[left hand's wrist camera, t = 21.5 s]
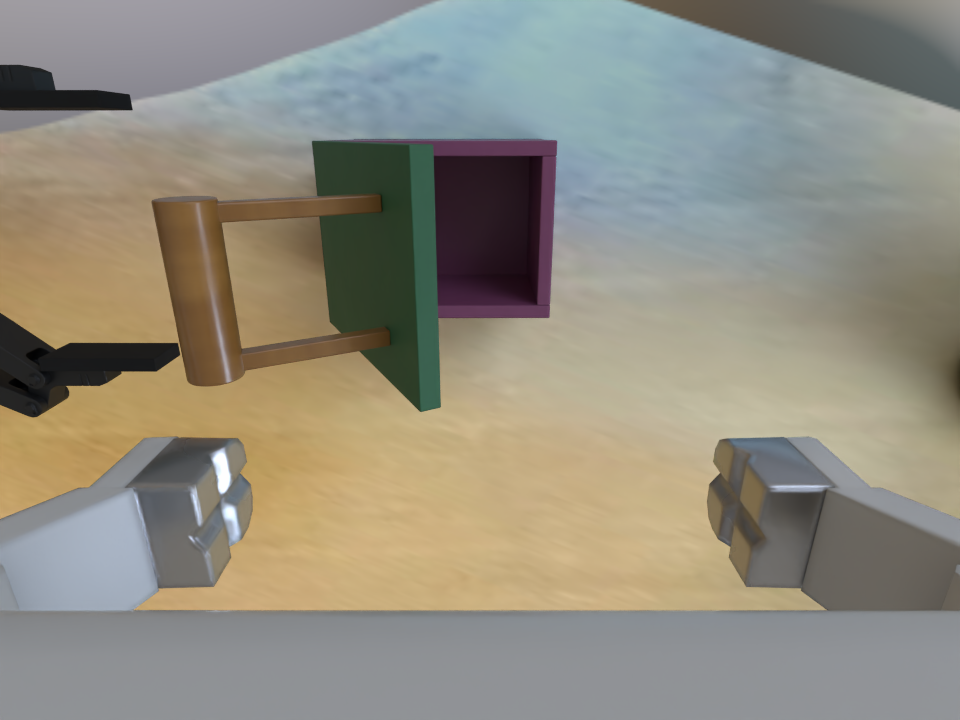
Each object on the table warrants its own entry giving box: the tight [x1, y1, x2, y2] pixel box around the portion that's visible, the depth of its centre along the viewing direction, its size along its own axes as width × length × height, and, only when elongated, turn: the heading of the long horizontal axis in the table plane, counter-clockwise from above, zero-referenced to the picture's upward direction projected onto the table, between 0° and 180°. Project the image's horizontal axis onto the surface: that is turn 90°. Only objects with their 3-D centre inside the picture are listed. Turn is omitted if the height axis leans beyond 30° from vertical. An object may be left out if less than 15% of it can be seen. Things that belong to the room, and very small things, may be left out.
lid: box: [152, 141, 441, 412], centre depth 26 cm, size 14×10×9 cm
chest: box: [332, 139, 557, 318], centre depth 38 cm, size 13×10×9 cm
